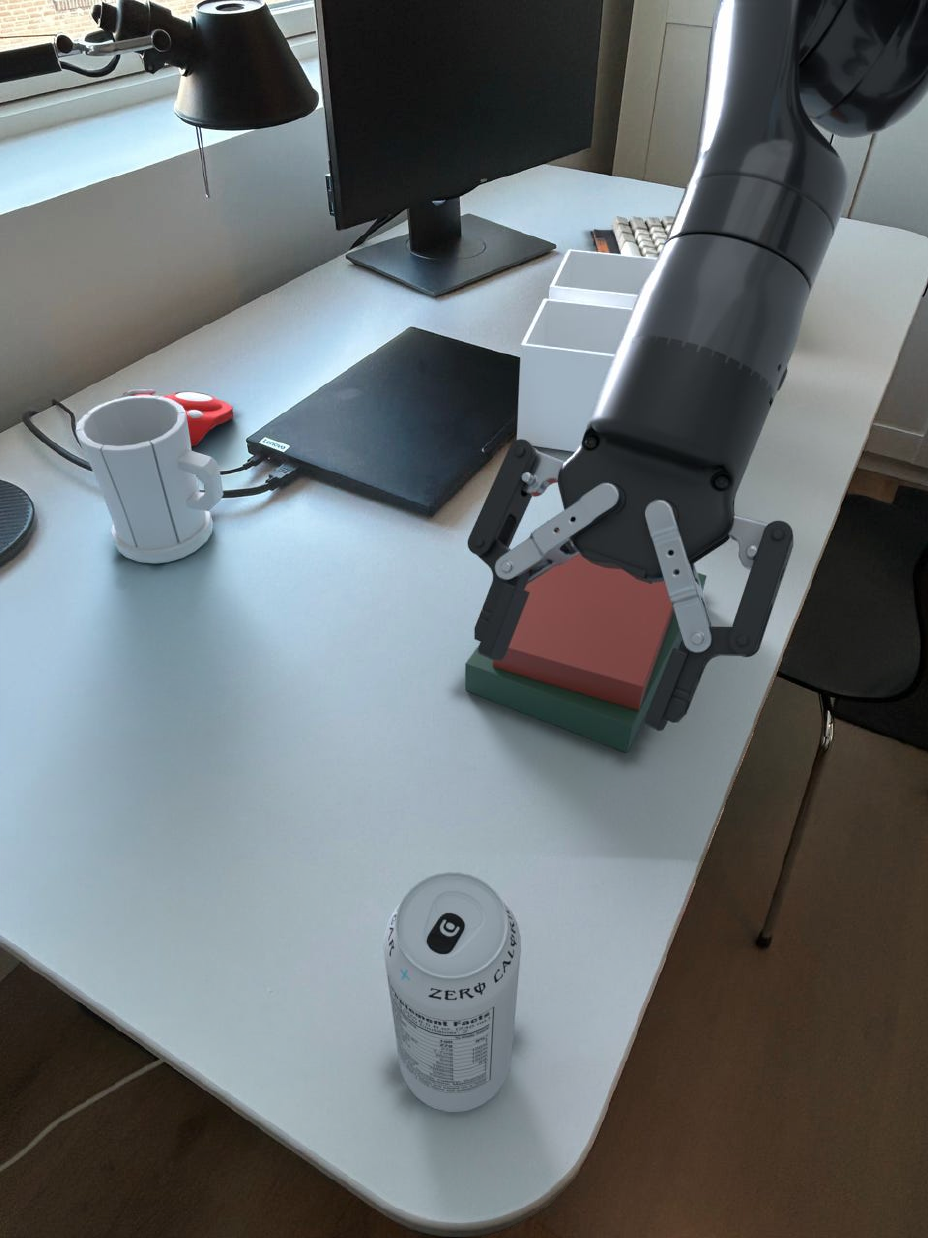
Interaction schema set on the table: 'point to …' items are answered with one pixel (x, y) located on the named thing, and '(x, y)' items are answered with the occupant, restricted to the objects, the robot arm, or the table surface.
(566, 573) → the book stack
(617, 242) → the mechanical keyboard
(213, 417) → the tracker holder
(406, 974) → the energy drink can
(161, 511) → the cup
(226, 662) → the table surface
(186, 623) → the table surface
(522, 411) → the storage container
